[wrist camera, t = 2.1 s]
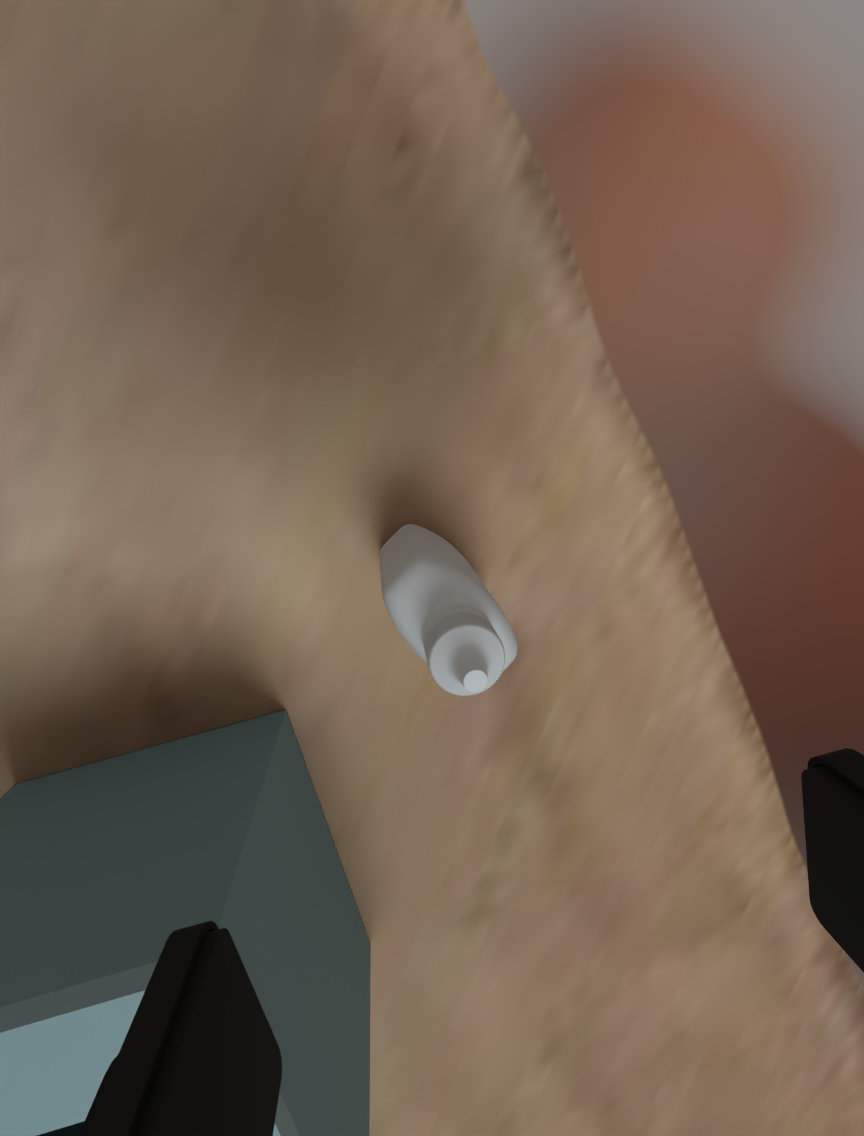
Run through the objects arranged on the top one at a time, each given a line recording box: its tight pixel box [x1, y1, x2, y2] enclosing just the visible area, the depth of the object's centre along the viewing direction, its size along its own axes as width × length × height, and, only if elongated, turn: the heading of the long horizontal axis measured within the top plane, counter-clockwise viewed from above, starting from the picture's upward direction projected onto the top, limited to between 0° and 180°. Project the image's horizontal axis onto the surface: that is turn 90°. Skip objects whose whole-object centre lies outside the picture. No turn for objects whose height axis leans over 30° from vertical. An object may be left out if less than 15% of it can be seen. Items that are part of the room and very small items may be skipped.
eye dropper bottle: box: [380, 524, 517, 696], centre depth 21 cm, size 4×6×12 cm
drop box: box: [0, 710, 370, 1136], centre depth 23 cm, size 16×14×14 cm
